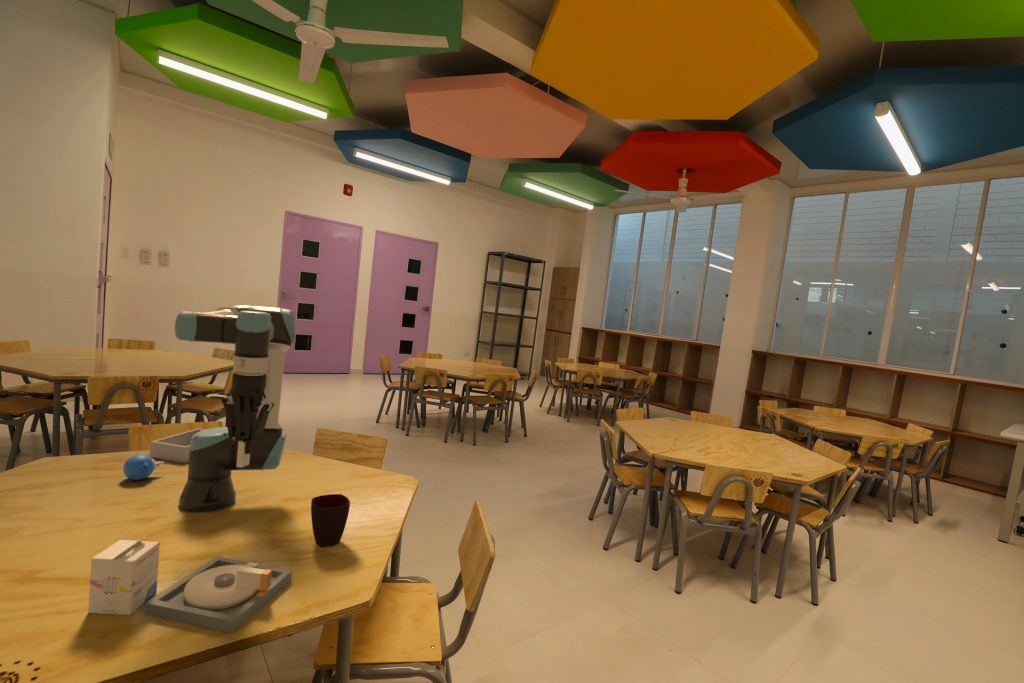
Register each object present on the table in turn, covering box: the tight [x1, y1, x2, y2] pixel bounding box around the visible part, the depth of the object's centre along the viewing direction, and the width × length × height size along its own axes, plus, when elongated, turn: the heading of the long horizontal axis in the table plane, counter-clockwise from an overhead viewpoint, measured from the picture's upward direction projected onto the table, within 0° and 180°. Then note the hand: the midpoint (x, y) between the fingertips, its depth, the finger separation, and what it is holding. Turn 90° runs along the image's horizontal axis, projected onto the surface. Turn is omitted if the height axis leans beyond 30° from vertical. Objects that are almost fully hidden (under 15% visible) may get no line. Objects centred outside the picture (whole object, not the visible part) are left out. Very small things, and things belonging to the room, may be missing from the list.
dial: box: [184, 565, 272, 610], centre depth 108 cm, size 18×15×5 cm
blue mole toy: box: [122, 453, 166, 481], centre depth 166 cm, size 12×12×8 cm
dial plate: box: [143, 555, 293, 634], centre depth 108 cm, size 20×20×3 cm
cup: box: [310, 493, 351, 548], centre depth 137 cm, size 10×14×12 cm
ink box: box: [87, 534, 161, 616], centre depth 102 cm, size 9×8×13 cm
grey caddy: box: [149, 428, 205, 463], centre depth 196 cm, size 15×23×6 cm, turn 172°
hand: (242, 465), depth 122 cm, fingers closed
